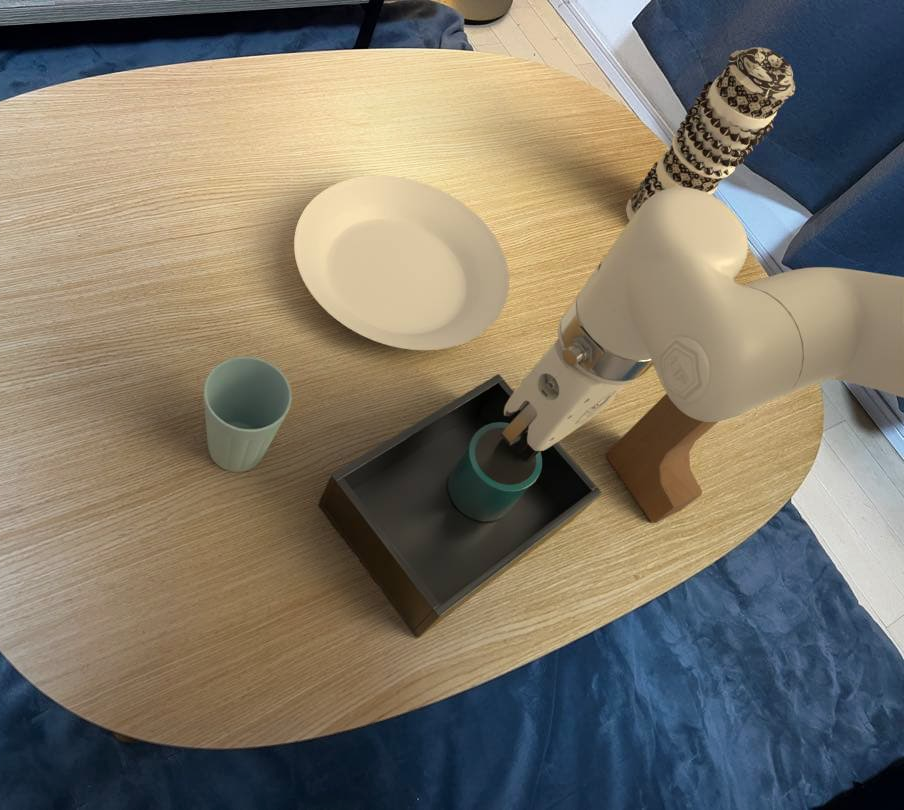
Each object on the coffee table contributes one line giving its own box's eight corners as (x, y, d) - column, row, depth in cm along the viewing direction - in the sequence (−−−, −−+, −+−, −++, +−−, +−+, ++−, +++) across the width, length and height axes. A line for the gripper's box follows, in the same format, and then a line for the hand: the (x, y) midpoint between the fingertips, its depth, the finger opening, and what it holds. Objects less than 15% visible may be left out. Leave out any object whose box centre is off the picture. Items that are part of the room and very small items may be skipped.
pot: (484, 445, 88) (508, 409, 81) (528, 497, 86) (557, 465, 79) (433, 479, 85) (454, 445, 78) (478, 534, 83) (503, 505, 76)
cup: (277, 416, 85) (292, 360, 77) (275, 485, 82) (291, 435, 73) (200, 409, 84) (207, 351, 75) (194, 479, 80) (201, 427, 71)
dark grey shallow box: (572, 520, 87) (603, 493, 81) (417, 639, 77) (439, 617, 71) (476, 406, 92) (498, 373, 86) (317, 504, 82) (330, 474, 76)
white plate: (308, 373, 89) (314, 354, 86) (274, 195, 101) (278, 173, 98) (523, 363, 96) (535, 345, 93) (468, 198, 108) (477, 177, 105)
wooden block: (681, 510, 91) (789, 430, 76) (651, 525, 89) (755, 446, 74) (633, 441, 94) (727, 351, 79) (603, 454, 92) (693, 365, 77)
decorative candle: (654, 253, 110) (775, 100, 90) (609, 203, 113) (716, 44, 92) (699, 233, 114) (825, 82, 94) (654, 185, 117) (766, 28, 97)
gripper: (581, 414, 59) (489, 517, 74) (706, 329, 66) (598, 439, 81) (510, 336, 61) (435, 452, 76) (639, 262, 68) (547, 381, 83)
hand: (520, 445), depth 79 cm, fingers closed
